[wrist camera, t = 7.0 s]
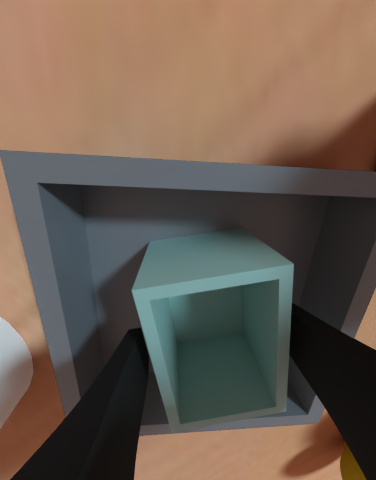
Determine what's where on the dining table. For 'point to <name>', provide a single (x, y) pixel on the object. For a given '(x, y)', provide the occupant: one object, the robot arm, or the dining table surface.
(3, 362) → the honey pot
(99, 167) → the charcoal crate
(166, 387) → the teal crate
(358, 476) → the lemon
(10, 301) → the dining table surface
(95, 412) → the robot arm
